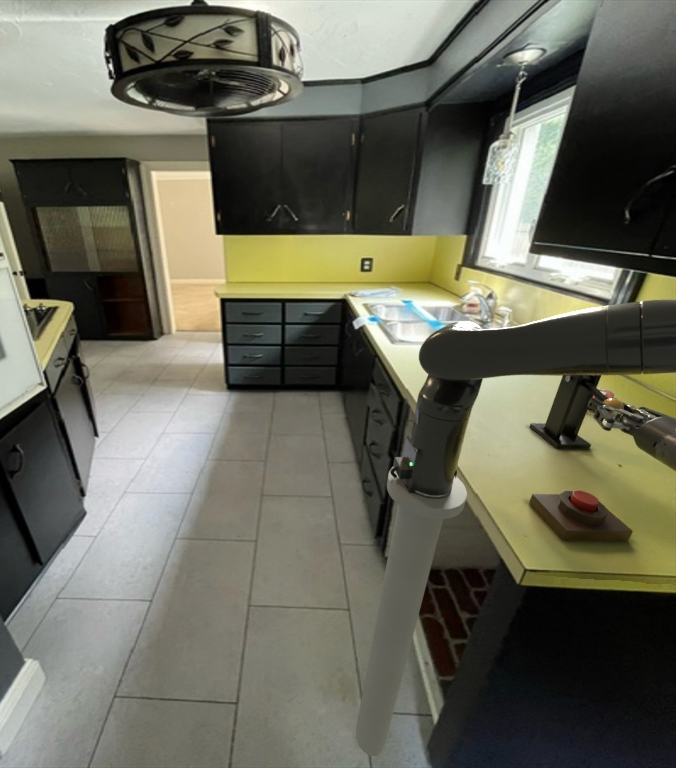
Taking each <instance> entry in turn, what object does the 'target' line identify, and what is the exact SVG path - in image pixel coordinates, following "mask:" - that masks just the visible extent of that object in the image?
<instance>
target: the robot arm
mask: <svg viewBox="0 0 676 768" xmlns="http://www.w3.org/2000/svg"><path fill="white" fill-rule="evenodd" d="M418 361H419V365H420V366H421V368H422V369H423V371H424V372H425V373H426V374H427V376H426V379H425V381H424V383H423V384H422V387H421V389H420V390H419V392H418V395H417V400H416V407H415V410H414V411H415V412H414V417H413V421H412V427H411V433H410V435H407V436H406V437H405V440H404V441H405V442H404V448H403V453H402V456H394V459H393V465H392V467H394V468H392V467H391V468H392V469H391V468H390V470H391V471H390V470H389V471H390V473H391V475H392V476H393V477H394V478H396V477H397V475H398V477H399V479H402V480H403V483H404V484H405V486H406V488H407V490H408V492H409V493H415V494H418V495H420V496H423V497H426V498H432V499H440V498H444V497H447V496H448V495H449V494H450V493H451V490H452V484H453V480H454V476H455V479H456V477H457V476H458V475H457V474H458V470H457V469H458V468H457V467H458V464H459V461H460V457H461V452H462V449H463V445H464V441H465V437H466V433H467V430H468V426H469V422H470V418H471V414H472V411H473V408H474V405H475V403H476V401H477V399H478V396H479V393H480V391H481V387H482V383H483V380H484V379H490V378H499V377H511V376H512V377H513V376H550V377H551V376H555V377H557V376H563V375H601V376H632V375H633V376H634V375H635V376H636V375H637V376H639V375H657V374H658V375H659V374H676V299H652V300H642V301H631V302H626V303H625V302H624V303H617V304H609V305H602V306H597V307H591V308H586V309H585V308H584V309H581V310H576V311H571V312H567V313H563V314H558V315H554V316H551V317H547V318H543V319H541V320H537V321H533V322H529V323H525V324H520V325H516V326H509V327H502V328H482V327H481V326H480V325H479V324H477V323H474V322H471V321H465V320H464V321H463V320H461V321H454V322H451V323H449V324H447V325H445V326H442V327H441V328H439V329H438V330H435V331H433V333H431V334H430V335H429V336H428V337H427V338H426V339H425V340H424V342H423V343H422V345H421V346H420V348H419V351H418ZM610 399H611V398H610ZM613 399H617V400H619V399H618V398H616V397H614V398H613ZM620 401H621V400H620ZM621 402H622V403H623V405H624V410H623V409H615V408H613V407H611V406H608V405H607V404H605V403H604V402H602V401H600V400H598V399H596V398H590V400H589V403H588V407H590V408H591V409H590V410H592V409H593V410H592V411H594V414H593V416H592V418H593V419H594V420H595V422H596V423H597V424H598V425H599V426H600V427H601V429H602V430H604V431H606V432H611V431H612V429H618V430H619V431H620V432H623V433H624V434H627V435H629V436H632V438H633V441H634V443H635V445H636V447H637V448H638V449H640V450H641V451H643V452H644V453H646V454H647V455H649V456H650V457H652V458H653V459H655V460H657V461H658V462H659V463H661V464H663V465H665V466H666V467H668V468H669V469H671V470H673V471H674V472H676V418H675V417H673V416H670V415H668V414H665V413H661V412H659V411H656V410H654V409H651V408H648V407H645V406H639V407H637V406H635V405H632V404H627V403H625V402H623V401H621ZM609 411H611V412H612V413H613V415H611V414H610V413H609ZM395 471H396V473H397V475H396V474H395V473H394V472H395Z"/></svg>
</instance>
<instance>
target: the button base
mask: <svg viewBox="0 0 676 768" xmlns="http://www.w3.org/2000/svg"><path fill="white" fill-rule="evenodd" d="M574 491H575V490H564V491H562V492H561V493H532V494H531V497H530V499H529V502H528V503H529V505H530V506H531V507H532V508H533V509H534V510H535V512H536V513H538V515H540V517H541V518H542V519H543V520H544V521H545V522H546V523H547V525H548V526H550V528H551V529H552V530H553V531H554V532H555V533H556V534H557V535H558V536H559V537H560V539H561V540H562V541H599V542H600V541H607V542H609V541H611V542H615V541H618V542H620V541H621V542H623V541H624V542H625V541H626V542H628V541H629V540H630V538H631V536H632V534H633V533H634V530H633V529H632V528H630V526H628V525H627V524H625V523H624V522H623V521H622V520H621V519H620V518H619V517H617V516H616V515H615V514H614V513H613V512H611V510H609V509H608V508H607V507H606V505H604V504H603V503H601V502H600V501H599V504H598V506H597V508H596V510H595V511H594V512H588V511H584V510H581V509H579V508H577V507H575V506H574V505H573V504H572V503H570V498H571V496H572V494H573V492H574Z"/></svg>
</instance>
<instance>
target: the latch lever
mask: <svg viewBox="0 0 676 768" xmlns="http://www.w3.org/2000/svg"><path fill="white" fill-rule="evenodd" d="M591 379H592V378H591V377H590V376H589V375H584V376H583V379H582V381H581V384H580V386H584V387H585V388H586V389H587V390H588V391H589V392H590V393H591V394H593V395H594V396H595V397H596V398H597V399H598V400H600V401H602V402H604V403H605V404H607V405H608V406H611V407H613V408H615V409H623V410H624V405H623V403H624V402H623V401H622V402H623V403H622V402H621V400H620V399H618V398H616V399H613V398H611V399H608V398H607V397H606V396H605V395H604V394H603V393H601V392H600V391H599V390H598V389H597V388H598V387H597V388H596V387H594V386H593V385H592V384H591V383H590V380H591ZM617 399H618V400H617ZM609 413H610V414H611V415H613V413H612V412H611V411H609Z"/></svg>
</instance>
